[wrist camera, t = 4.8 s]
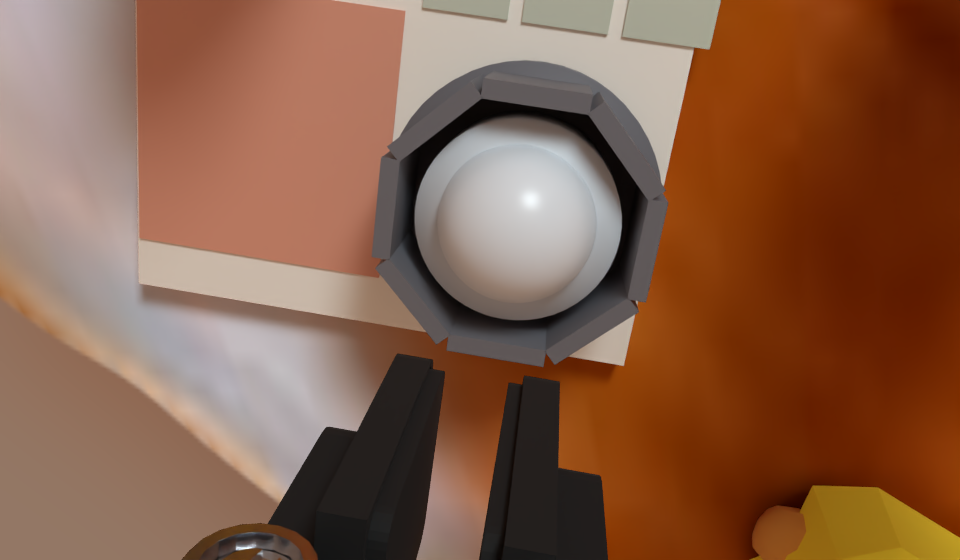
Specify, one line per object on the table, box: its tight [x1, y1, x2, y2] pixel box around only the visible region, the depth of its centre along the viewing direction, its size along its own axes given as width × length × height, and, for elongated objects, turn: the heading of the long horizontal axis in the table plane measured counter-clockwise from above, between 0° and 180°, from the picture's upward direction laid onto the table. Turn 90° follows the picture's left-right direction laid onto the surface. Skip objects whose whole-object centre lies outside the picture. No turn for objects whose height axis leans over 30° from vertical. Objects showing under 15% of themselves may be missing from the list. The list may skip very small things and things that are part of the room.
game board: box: [135, 0, 721, 367], centre depth 27 cm, size 20×14×6 cm
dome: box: [415, 110, 622, 320], centre depth 25 cm, size 7×7×5 cm
